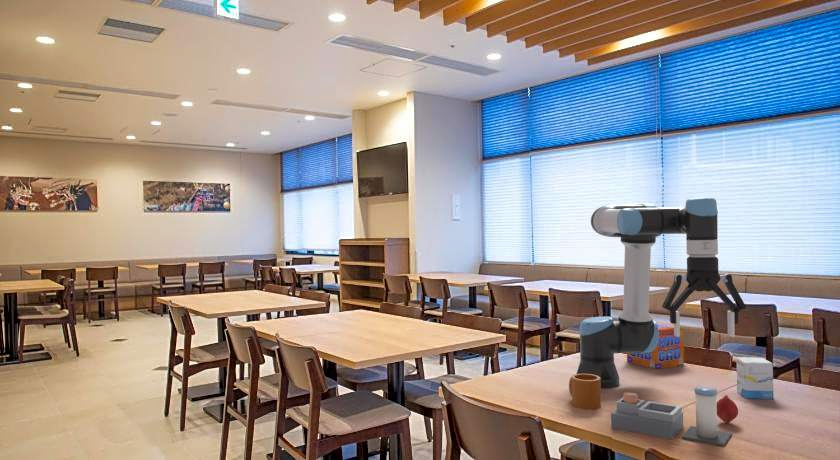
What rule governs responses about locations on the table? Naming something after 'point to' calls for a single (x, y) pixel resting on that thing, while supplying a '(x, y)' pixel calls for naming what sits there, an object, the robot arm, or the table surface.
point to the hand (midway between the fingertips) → (703, 336)
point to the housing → (648, 418)
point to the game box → (662, 350)
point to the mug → (585, 391)
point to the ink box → (755, 378)
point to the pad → (719, 440)
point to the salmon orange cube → (630, 398)
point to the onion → (726, 409)
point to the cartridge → (706, 412)
